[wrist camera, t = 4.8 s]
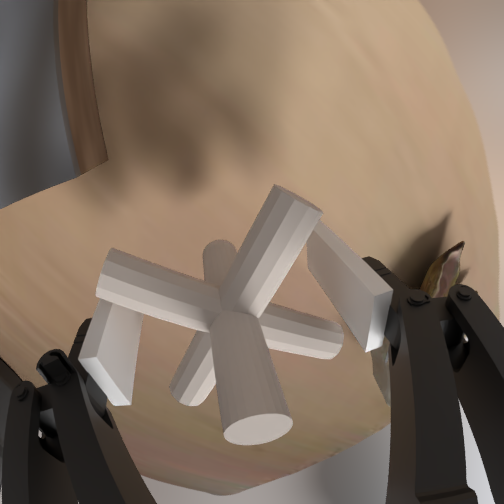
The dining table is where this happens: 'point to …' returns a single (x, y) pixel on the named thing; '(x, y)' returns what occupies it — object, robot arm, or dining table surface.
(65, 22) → the block
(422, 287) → the ceramic sculpture
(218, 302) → the pipe connector
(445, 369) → the robot arm
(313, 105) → the dining table surface
